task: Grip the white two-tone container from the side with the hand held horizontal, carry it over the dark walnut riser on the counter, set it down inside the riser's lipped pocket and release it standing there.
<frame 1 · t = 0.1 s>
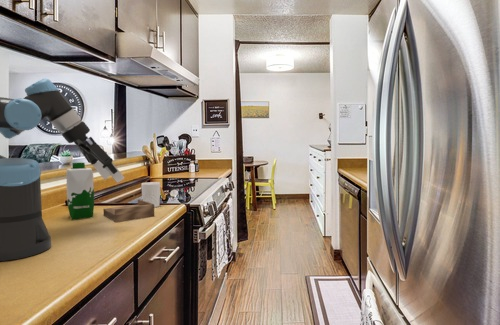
hand: (114, 178, 110), 15 cm above the worktop, tool tilted 35°, fingers open, 13 cm apart
riser: (128, 215, 122), on the worktop
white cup: (151, 206, 140), on the worktop
white two-tone container: (81, 217, 120), on the worktop
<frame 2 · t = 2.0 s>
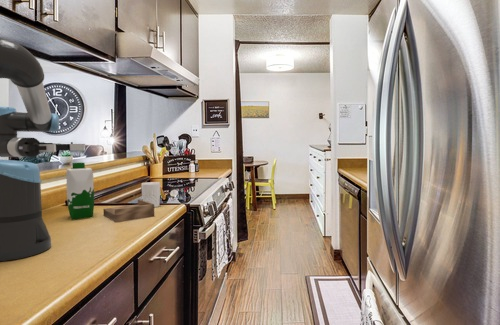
hand: (70, 147, 119), 26 cm above the worktop, tool horizontal, fingers open, 13 cm apart
nothing on the worktop moved.
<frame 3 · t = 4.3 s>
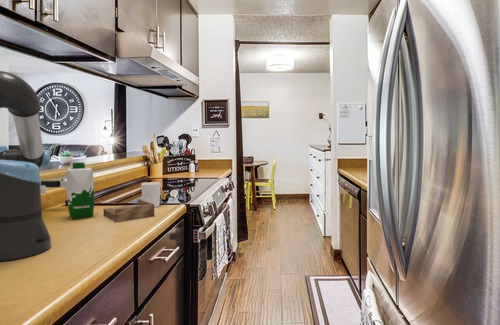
hand: (60, 187, 122), 11 cm above the worktop, tool horizontal, fingers open, 13 cm apart
nothing on the worktop moved.
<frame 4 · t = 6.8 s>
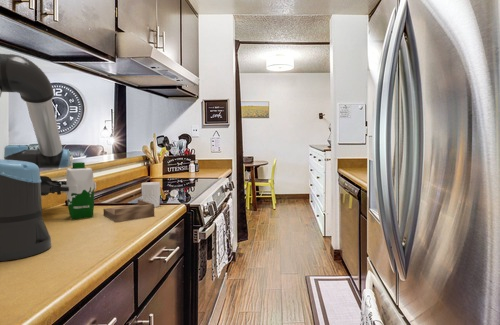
hand: (86, 187, 119), 11 cm above the worktop, tool horizontal, fingers closed on white two-tone container, 8 cm apart
white two-tone container: (81, 217, 120), on the worktop, touching gripper
everything else where it was.
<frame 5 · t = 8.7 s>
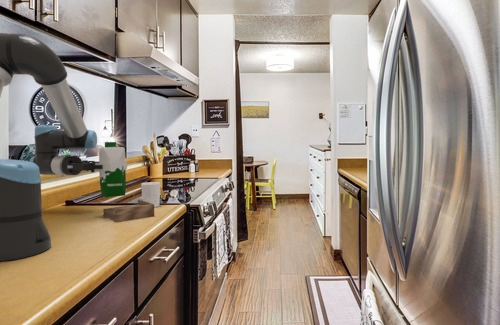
hand: (119, 166, 121), 19 cm above the worktop, tool horizontal, fingers closed on white two-tone container, 8 cm apart
white two-tone container: (113, 195, 122), point 8 cm above the worktop, touching gripper
everything else where it was.
when the fingers open (14 cm above the worktop, at t = 10.6 s): white two-tone container moves 3 cm, point 3 cm above the worktop.
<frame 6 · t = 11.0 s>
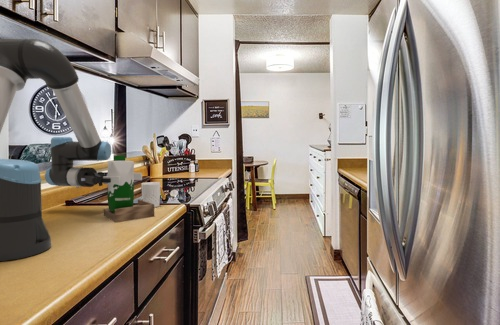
hand: (131, 178, 120), 14 cm above the worktop, tool horizontal, fingers open, 13 cm apart
white two-tone container: (120, 210, 119), point 3 cm above the worktop, touching gripper
everything else where it was.
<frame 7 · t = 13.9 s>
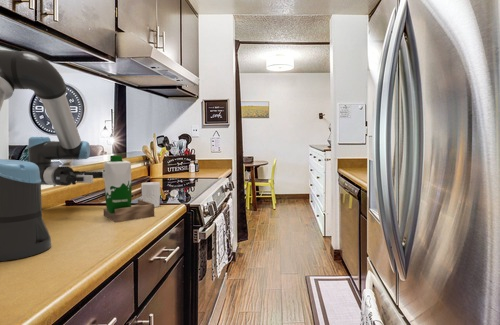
hand: (105, 177, 123), 14 cm above the worktop, tool horizontal, fingers open, 13 cm apart
white two-tone container: (118, 211, 119), point 2 cm above the worktop, touching riser
everything else where it was.
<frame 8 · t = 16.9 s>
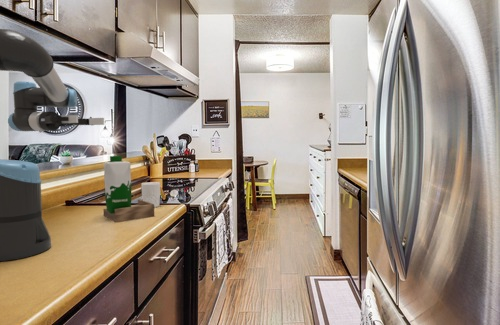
hand: (91, 120, 122), 36 cm above the worktop, tool horizontal, fingers open, 13 cm apart
nothing on the worktop moved.
at the end: white two-tone container inside the target area on the riser (3.8 cm from its centre), point 2.3 cm above the riser's base; white two-tone container tilted 0°; the gripper is holding nothing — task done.
